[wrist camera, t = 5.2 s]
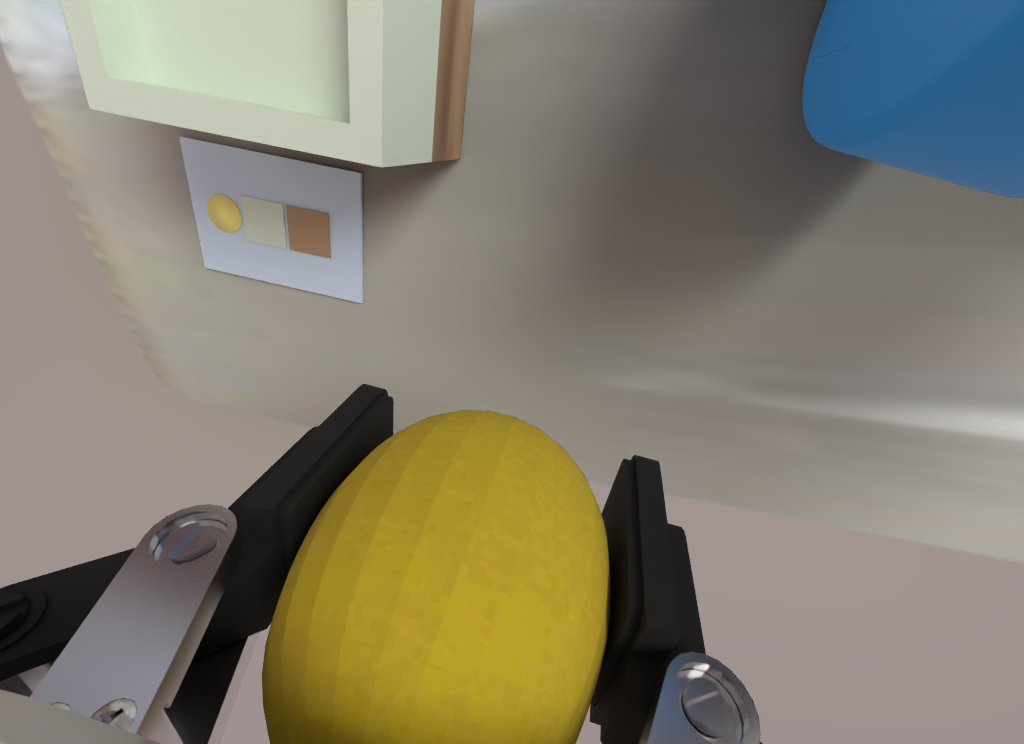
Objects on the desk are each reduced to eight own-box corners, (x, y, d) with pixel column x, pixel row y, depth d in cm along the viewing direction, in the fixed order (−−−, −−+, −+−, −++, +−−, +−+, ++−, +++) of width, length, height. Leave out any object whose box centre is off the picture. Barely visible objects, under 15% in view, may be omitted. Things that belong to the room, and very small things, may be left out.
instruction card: (362, 172, 22) (359, 173, 21) (363, 302, 25) (361, 304, 25) (181, 136, 22) (177, 136, 22) (207, 266, 26) (203, 268, 25)
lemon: (450, 520, 13) (278, 920, 7) (378, 368, 11) (1, 738, 4) (630, 511, 12) (648, 1044, 5) (588, 328, 9) (512, 847, 3)
